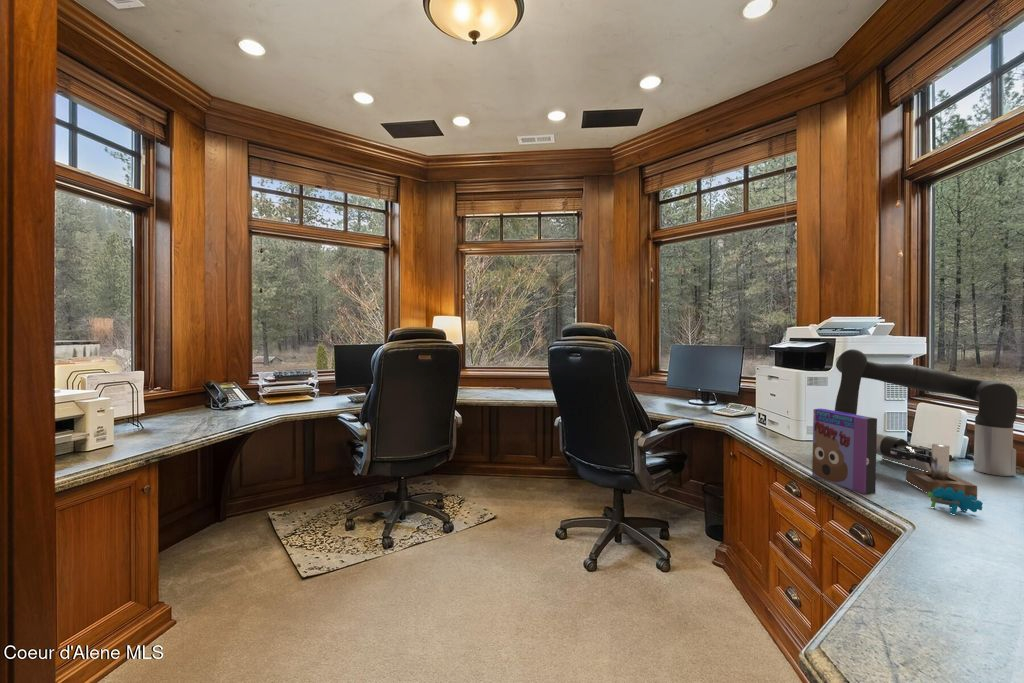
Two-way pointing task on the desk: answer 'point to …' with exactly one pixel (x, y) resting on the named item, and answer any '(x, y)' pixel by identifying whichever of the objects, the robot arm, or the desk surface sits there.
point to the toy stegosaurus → (954, 499)
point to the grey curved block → (912, 463)
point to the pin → (940, 462)
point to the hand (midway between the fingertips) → (941, 459)
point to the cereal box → (845, 449)
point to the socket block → (940, 482)
